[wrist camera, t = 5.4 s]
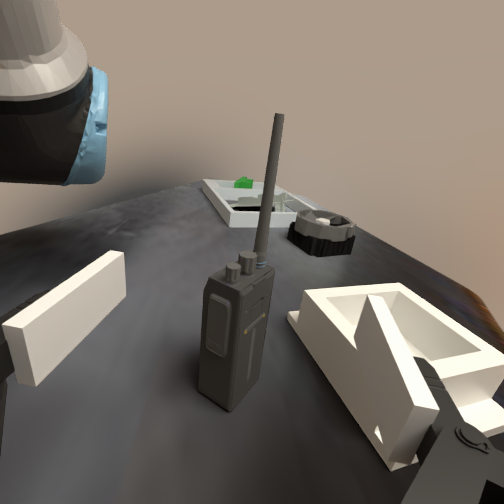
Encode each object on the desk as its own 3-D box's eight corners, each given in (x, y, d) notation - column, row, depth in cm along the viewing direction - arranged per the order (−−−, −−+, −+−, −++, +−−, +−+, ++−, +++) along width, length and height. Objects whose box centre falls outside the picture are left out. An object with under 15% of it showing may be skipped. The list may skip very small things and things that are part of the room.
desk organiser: (202, 189, 83) (202, 179, 82) (271, 193, 90) (272, 183, 89) (229, 227, 58) (230, 212, 57) (322, 227, 65) (325, 214, 64)
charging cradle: (286, 319, 33) (295, 279, 31) (374, 309, 37) (386, 274, 35) (390, 471, 19) (417, 418, 17) (511, 429, 23) (544, 382, 21)
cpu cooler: (285, 208, 55) (329, 207, 59) (280, 237, 57) (323, 234, 61) (319, 227, 46) (367, 225, 51) (312, 260, 49) (358, 256, 53)
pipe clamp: (245, 200, 78) (247, 184, 76) (232, 198, 78) (234, 182, 76) (253, 192, 87) (255, 177, 85) (241, 190, 88) (243, 176, 86)
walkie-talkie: (228, 357, 27) (257, 111, 19) (261, 375, 25) (307, 117, 17) (191, 392, 23) (207, 102, 15) (227, 416, 21) (266, 109, 13)
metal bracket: (301, 190, 71) (261, 197, 60) (302, 215, 73) (264, 225, 62) (255, 193, 81) (214, 199, 70) (257, 215, 82) (217, 224, 71)
